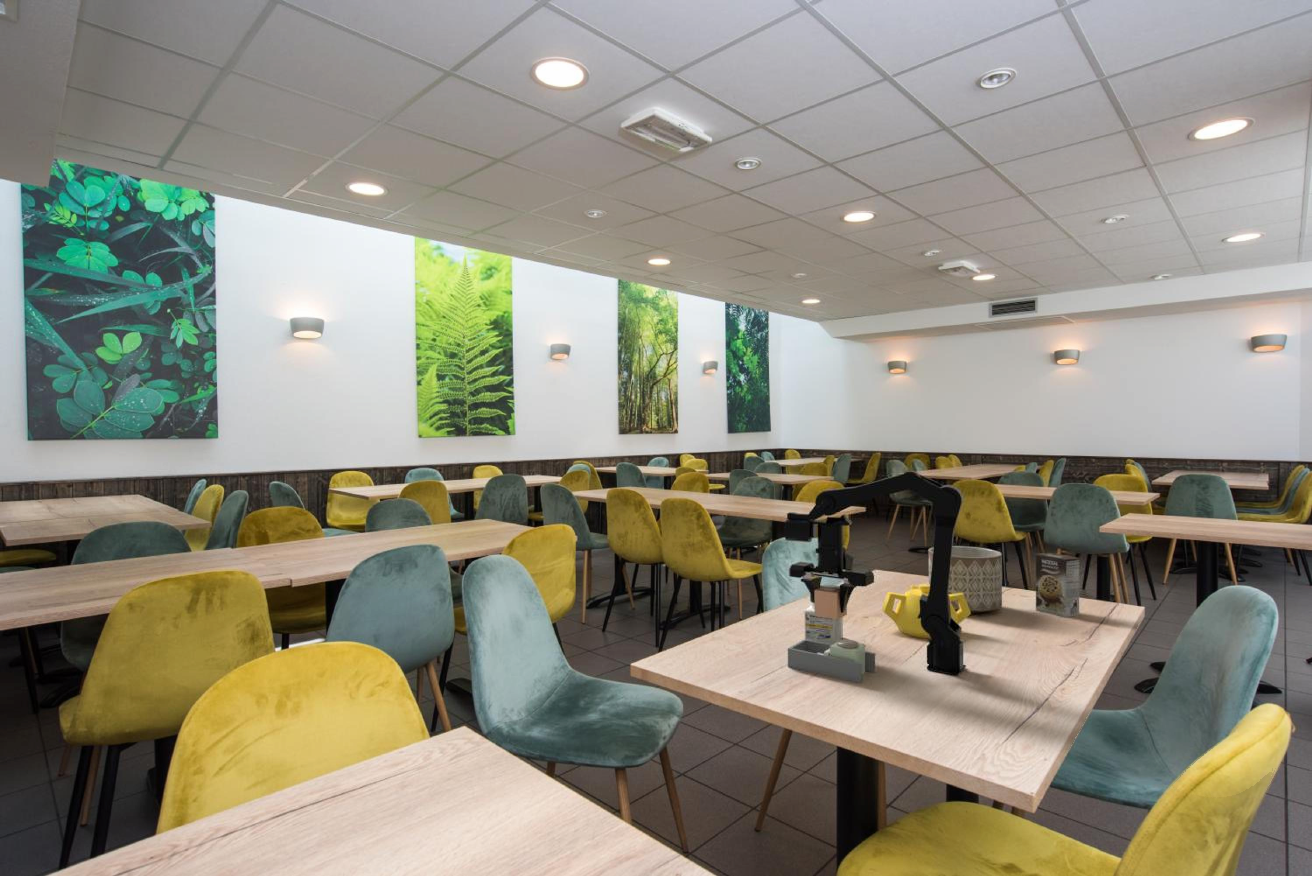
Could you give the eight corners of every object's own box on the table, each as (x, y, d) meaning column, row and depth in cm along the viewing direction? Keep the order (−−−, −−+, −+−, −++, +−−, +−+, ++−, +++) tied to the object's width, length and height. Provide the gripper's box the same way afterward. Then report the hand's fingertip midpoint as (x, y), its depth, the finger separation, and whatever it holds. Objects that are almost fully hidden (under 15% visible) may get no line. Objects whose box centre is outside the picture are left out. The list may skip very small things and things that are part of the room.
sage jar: (865, 672, 144) (864, 641, 144) (855, 680, 140) (854, 648, 140) (840, 667, 148) (840, 637, 148) (830, 674, 143) (829, 643, 143)
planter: (1005, 604, 199) (1004, 549, 199) (998, 620, 182) (998, 559, 182) (935, 597, 209) (934, 544, 209) (923, 611, 193) (922, 553, 192)
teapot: (973, 632, 172) (973, 585, 172) (941, 646, 161) (941, 596, 161) (912, 619, 185) (912, 575, 185) (879, 630, 174) (878, 584, 174)
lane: (875, 672, 144) (875, 653, 144) (860, 683, 138) (860, 663, 138) (804, 656, 154) (804, 639, 154) (787, 666, 148) (787, 648, 148)
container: (804, 641, 166) (804, 588, 166) (812, 633, 173) (812, 582, 172) (836, 646, 162) (835, 592, 162) (843, 637, 169) (842, 585, 169)
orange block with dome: (846, 614, 157) (846, 586, 157) (837, 619, 153) (837, 590, 153) (824, 610, 160) (824, 583, 160) (814, 615, 156) (814, 587, 156)
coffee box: (1034, 610, 193) (1034, 553, 192) (1049, 607, 195) (1049, 552, 195) (1065, 617, 184) (1065, 559, 184) (1080, 615, 187) (1080, 557, 187)
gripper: (882, 542, 157) (883, 609, 157) (808, 535, 169) (809, 598, 169) (864, 549, 148) (864, 620, 148) (787, 541, 160) (788, 607, 160)
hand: (830, 610), depth 157 cm, fingers closed on orange block with dome, 5 cm apart
